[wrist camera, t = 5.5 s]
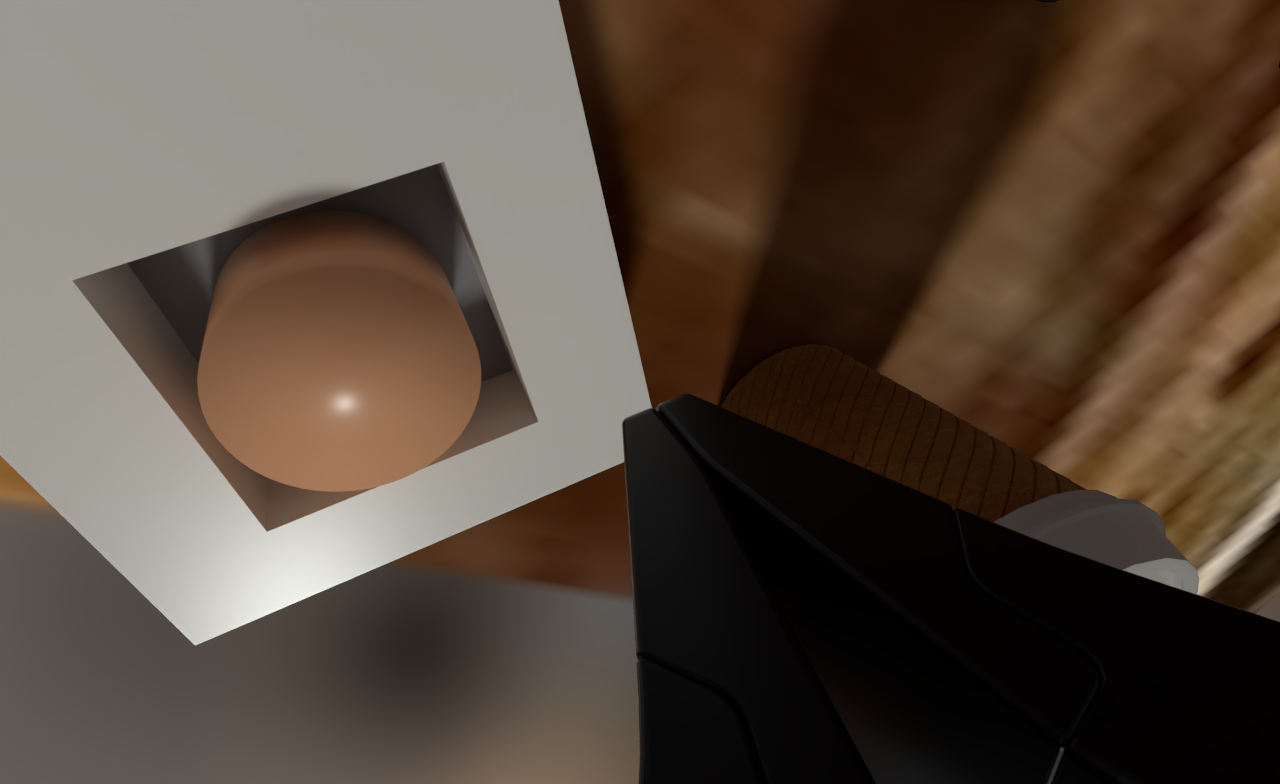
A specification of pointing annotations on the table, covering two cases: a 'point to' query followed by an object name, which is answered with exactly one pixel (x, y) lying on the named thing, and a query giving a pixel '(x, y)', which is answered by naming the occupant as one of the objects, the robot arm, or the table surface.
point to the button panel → (255, 197)
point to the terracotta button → (336, 354)
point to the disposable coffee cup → (950, 460)
